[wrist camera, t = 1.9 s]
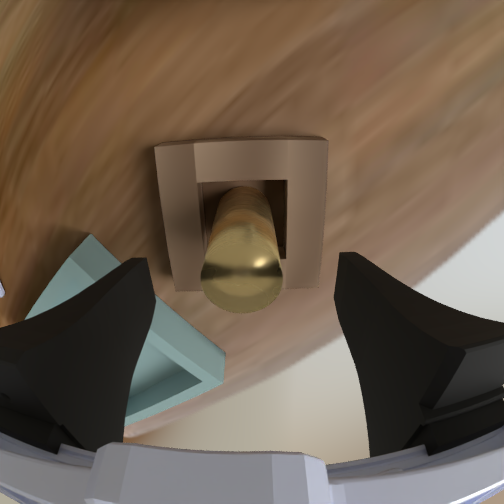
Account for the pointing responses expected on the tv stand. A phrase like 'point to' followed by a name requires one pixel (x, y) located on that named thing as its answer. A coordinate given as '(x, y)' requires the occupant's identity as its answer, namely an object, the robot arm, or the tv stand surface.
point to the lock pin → (242, 254)
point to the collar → (238, 169)
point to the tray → (156, 344)
